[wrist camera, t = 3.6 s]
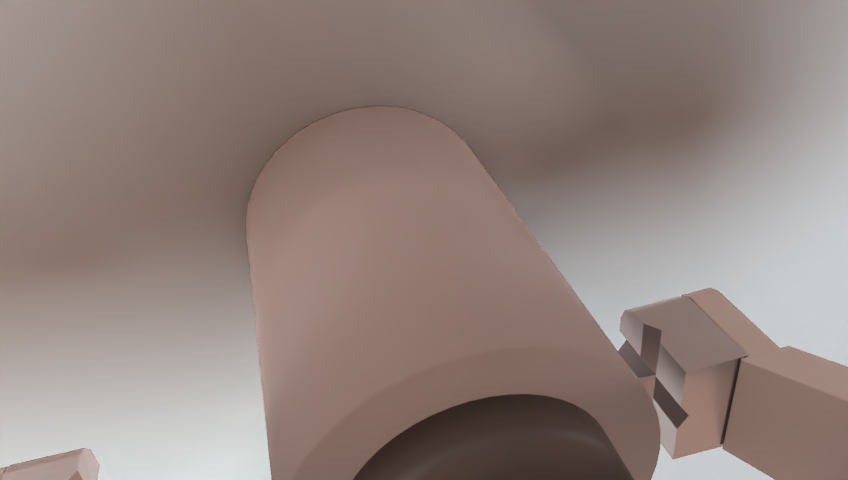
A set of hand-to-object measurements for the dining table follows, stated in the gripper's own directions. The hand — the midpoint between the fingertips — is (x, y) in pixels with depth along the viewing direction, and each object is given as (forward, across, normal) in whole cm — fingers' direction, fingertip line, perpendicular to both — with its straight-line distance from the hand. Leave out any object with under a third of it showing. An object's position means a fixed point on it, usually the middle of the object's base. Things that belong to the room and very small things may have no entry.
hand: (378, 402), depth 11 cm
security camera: (+5, -1, 0) cm, 5 cm away
